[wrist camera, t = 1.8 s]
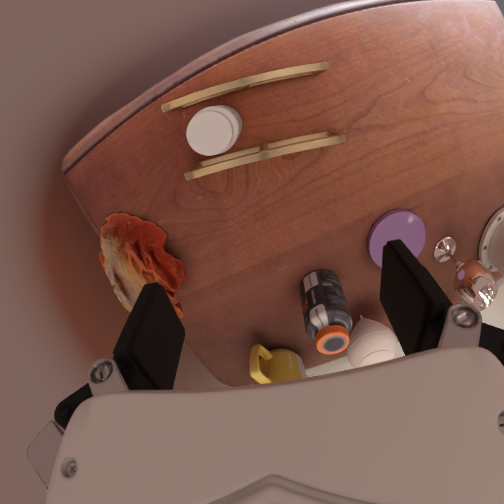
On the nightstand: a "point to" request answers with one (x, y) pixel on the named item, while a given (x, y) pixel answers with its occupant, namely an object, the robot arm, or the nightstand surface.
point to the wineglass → (468, 276)
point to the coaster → (396, 233)
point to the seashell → (138, 259)
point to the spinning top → (370, 343)
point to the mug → (275, 365)
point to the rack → (264, 149)
